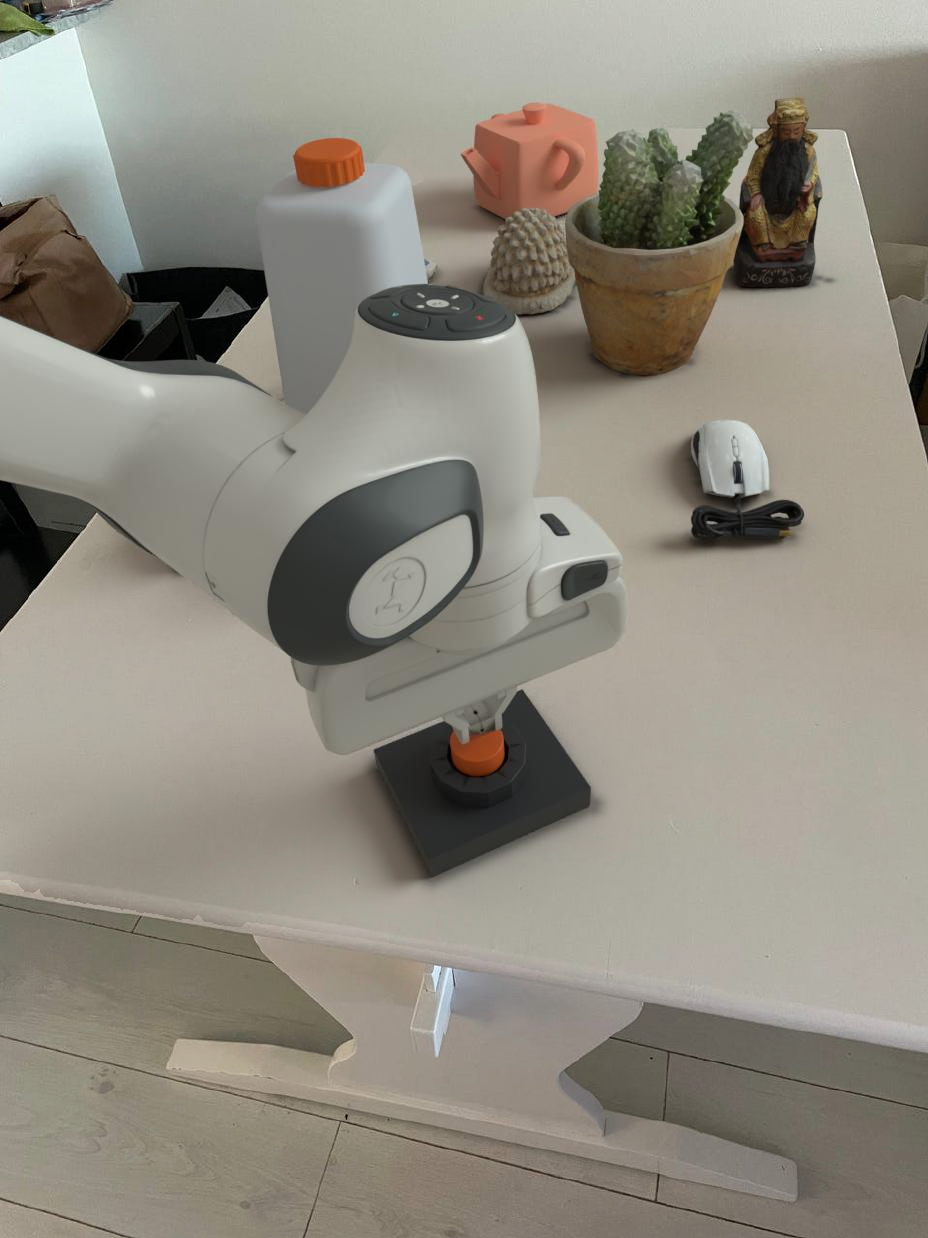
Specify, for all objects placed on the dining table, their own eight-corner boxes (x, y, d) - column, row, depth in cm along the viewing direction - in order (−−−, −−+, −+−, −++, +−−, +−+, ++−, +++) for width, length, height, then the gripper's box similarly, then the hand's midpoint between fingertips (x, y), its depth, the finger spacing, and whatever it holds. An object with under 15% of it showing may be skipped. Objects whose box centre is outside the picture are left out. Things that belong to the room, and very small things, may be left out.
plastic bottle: (456, 392, 103) (434, 120, 84) (417, 471, 93) (380, 182, 74) (331, 382, 107) (281, 118, 87) (279, 457, 97) (209, 177, 77)
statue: (730, 289, 117) (754, 116, 103) (728, 262, 122) (751, 94, 108) (831, 290, 115) (869, 114, 101) (824, 262, 120) (860, 91, 106)
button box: (432, 877, 61) (426, 845, 58) (377, 767, 67) (369, 733, 65) (590, 805, 64) (592, 771, 61) (523, 707, 71) (521, 672, 68)
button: (465, 785, 61) (463, 769, 60) (443, 746, 64) (441, 730, 63) (513, 764, 62) (512, 748, 61) (490, 727, 65) (488, 711, 64)
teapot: (533, 173, 150) (532, 77, 140) (621, 213, 136) (626, 110, 126) (428, 206, 143) (419, 107, 133) (509, 251, 129) (506, 145, 119)
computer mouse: (762, 430, 94) (768, 395, 92) (805, 545, 82) (814, 509, 79) (663, 434, 95) (666, 400, 92) (691, 549, 82) (696, 514, 79)
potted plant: (614, 410, 99) (627, 164, 81) (534, 337, 111) (531, 110, 94) (756, 365, 103) (798, 122, 86) (664, 299, 116) (685, 76, 98)
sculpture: (581, 258, 126) (583, 182, 119) (567, 317, 114) (569, 236, 107) (495, 257, 128) (492, 181, 121) (473, 314, 116) (468, 235, 109)
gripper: (302, 678, 47) (345, 829, 56) (648, 547, 52) (633, 706, 61) (267, 602, 51) (313, 755, 60) (590, 488, 56) (585, 646, 66)
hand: (477, 729), depth 61 cm, fingers closed
